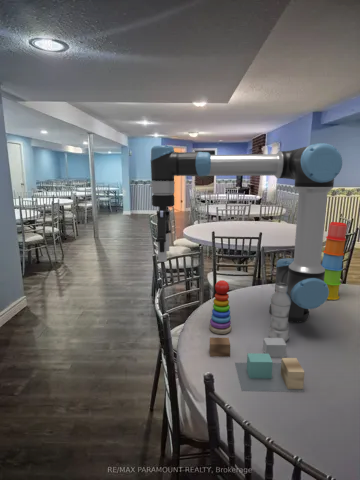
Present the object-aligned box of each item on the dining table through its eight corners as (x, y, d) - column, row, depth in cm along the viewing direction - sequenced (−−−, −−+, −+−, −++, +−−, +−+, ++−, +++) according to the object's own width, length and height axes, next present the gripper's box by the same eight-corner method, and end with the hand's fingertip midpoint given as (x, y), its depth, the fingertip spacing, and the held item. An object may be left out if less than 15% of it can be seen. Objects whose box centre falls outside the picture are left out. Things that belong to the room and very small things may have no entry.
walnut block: (228, 351, 96) (228, 337, 95) (229, 359, 92) (230, 344, 91) (209, 351, 96) (209, 337, 95) (210, 359, 92) (210, 344, 91)
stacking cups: (320, 290, 146) (327, 220, 139) (342, 296, 139) (351, 222, 132) (311, 295, 139) (317, 222, 132) (334, 302, 132) (342, 225, 125)
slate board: (288, 365, 88) (289, 363, 88) (304, 394, 76) (304, 391, 76) (234, 364, 89) (234, 362, 88) (241, 393, 77) (241, 390, 77)
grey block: (281, 352, 95) (282, 338, 94) (285, 359, 91) (286, 345, 90) (262, 352, 95) (263, 337, 94) (265, 359, 91) (266, 344, 90)
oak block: (280, 373, 83) (281, 357, 82) (294, 374, 83) (296, 358, 82) (287, 388, 77) (288, 371, 76) (302, 389, 77) (304, 372, 76)
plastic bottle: (278, 347, 97) (282, 290, 93) (264, 338, 103) (267, 283, 99) (292, 342, 100) (297, 286, 96) (277, 333, 106) (281, 280, 102)
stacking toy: (231, 336, 105) (232, 285, 101) (208, 333, 106) (209, 284, 102) (231, 325, 112) (233, 278, 108) (210, 323, 114) (211, 276, 110)
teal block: (267, 369, 85) (268, 353, 84) (271, 378, 81) (272, 362, 80) (246, 369, 85) (247, 353, 84) (249, 378, 82) (250, 361, 81)
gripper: (155, 192, 112) (157, 247, 116) (146, 196, 87) (148, 266, 92) (175, 192, 111) (176, 247, 116) (172, 196, 87) (173, 266, 91)
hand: (164, 255), depth 104 cm, fingers open, 13 cm apart
